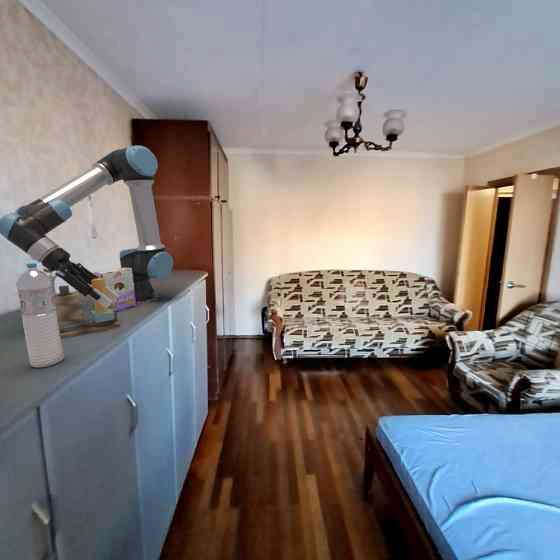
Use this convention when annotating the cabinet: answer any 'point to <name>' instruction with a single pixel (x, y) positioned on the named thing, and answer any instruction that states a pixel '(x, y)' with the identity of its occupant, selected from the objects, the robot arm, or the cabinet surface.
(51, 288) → the water bottle
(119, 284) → the candy box
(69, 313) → the tan hollow wooden box
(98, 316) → the block
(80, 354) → the cabinet surface
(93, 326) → the rail board
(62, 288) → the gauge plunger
